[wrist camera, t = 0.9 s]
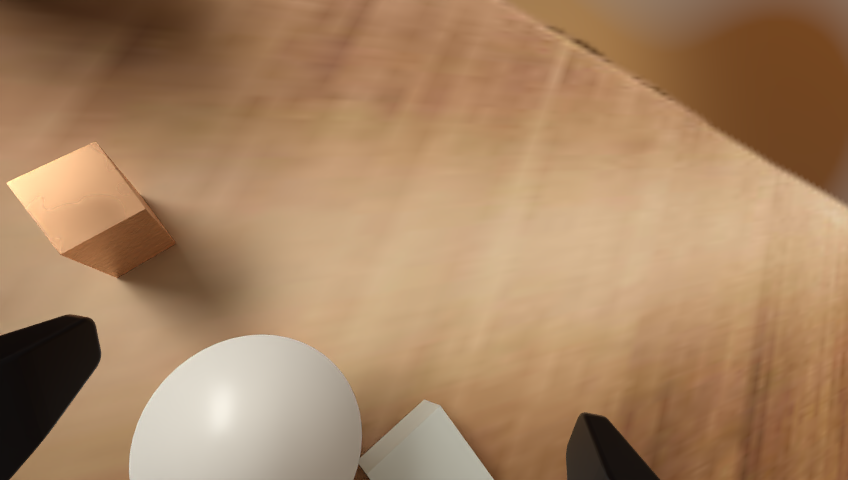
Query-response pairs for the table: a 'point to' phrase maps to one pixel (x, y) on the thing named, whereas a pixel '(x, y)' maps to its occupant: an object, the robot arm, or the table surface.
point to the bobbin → (250, 416)
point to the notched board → (423, 450)
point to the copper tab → (92, 212)
